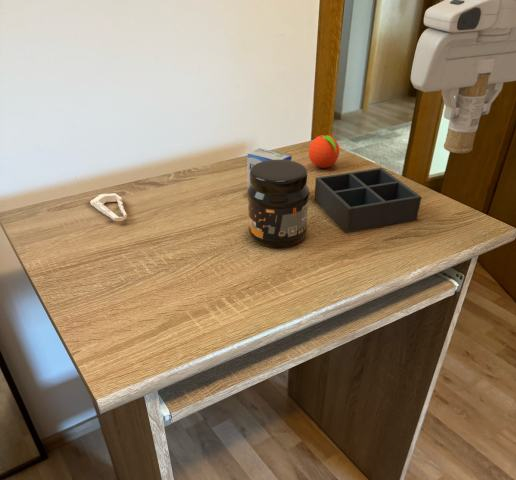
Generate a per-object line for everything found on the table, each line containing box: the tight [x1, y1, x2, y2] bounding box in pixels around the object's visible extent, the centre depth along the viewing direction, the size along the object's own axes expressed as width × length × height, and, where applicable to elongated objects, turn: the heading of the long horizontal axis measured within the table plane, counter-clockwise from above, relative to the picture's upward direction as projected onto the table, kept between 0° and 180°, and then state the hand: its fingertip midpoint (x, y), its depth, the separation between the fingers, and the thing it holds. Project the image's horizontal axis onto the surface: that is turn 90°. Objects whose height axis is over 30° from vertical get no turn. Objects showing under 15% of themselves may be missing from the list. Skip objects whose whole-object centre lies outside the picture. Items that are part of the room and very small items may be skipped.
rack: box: [313, 167, 422, 233], centre depth 94 cm, size 15×15×5 cm
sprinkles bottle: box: [443, 58, 495, 154], centre depth 75 cm, size 5×5×13 cm
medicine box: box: [246, 147, 292, 188], centre depth 98 cm, size 8×4×9 cm, turn 55°
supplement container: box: [246, 160, 310, 248], centre depth 84 cm, size 10×10×12 cm
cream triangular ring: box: [89, 192, 128, 222], centre depth 96 cm, size 13×5×2 cm, turn 38°
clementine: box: [308, 134, 340, 169], centre depth 109 cm, size 8×7×7 cm
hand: (465, 116), depth 76 cm, fingers closed on sprinkles bottle, 4 cm apart
